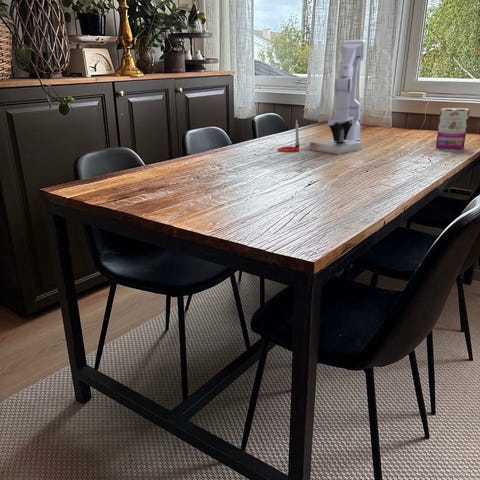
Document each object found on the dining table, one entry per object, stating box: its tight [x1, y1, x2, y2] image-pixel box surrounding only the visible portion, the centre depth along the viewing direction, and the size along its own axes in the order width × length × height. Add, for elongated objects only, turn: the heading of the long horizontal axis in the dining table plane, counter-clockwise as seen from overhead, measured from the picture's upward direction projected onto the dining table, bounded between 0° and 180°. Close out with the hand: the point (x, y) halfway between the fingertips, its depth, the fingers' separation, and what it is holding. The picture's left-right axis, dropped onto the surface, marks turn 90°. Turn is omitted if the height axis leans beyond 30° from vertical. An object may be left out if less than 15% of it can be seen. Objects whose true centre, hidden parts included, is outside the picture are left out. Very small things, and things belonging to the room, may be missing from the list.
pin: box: [336, 128, 345, 144], centre depth 200 cm, size 3×3×9 cm
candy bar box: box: [435, 107, 470, 150], centre depth 199 cm, size 11×5×16 cm, turn 68°
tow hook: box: [277, 119, 300, 153], centre depth 201 cm, size 8×13×9 cm
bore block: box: [309, 137, 363, 155], centre depth 203 cm, size 16×16×3 cm
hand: (339, 140), depth 201 cm, fingers open, 4 cm apart
